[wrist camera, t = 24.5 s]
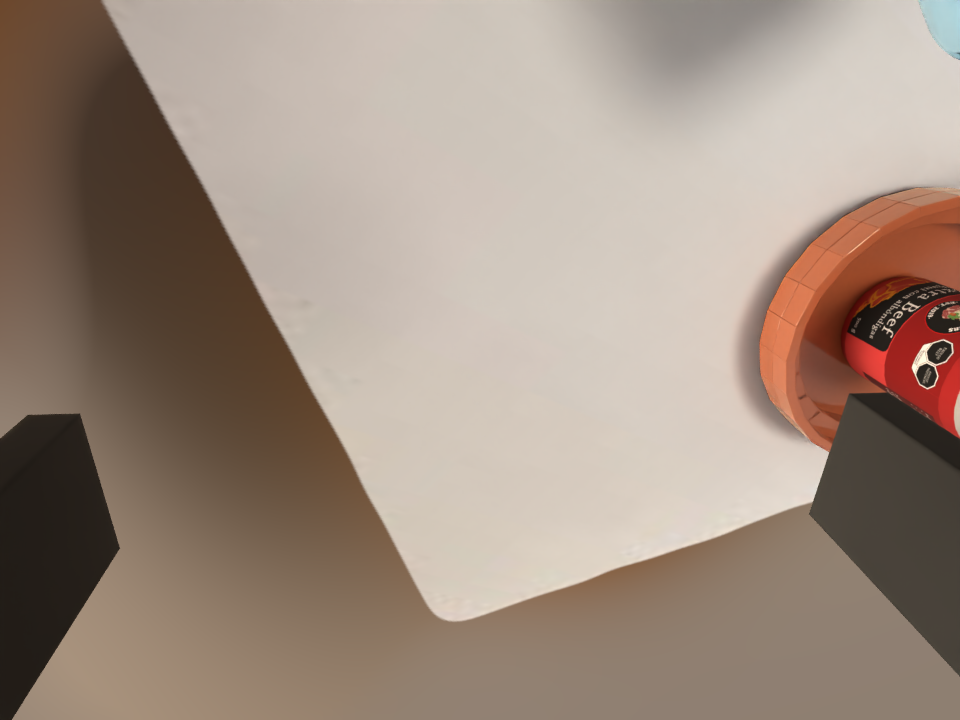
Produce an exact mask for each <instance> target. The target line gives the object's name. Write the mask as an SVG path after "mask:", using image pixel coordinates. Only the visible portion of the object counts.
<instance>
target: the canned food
mask: <svg viewBox="0 0 960 720" xmlns="http://www.w3.org/2000/svg"><path fill="white" fill-rule="evenodd" d="M841 348H842V352H843V355H844V356H845V358H846V360H847V362H848V363H849V365H850V366H851V367H852V368H853V369H854V370H855V371H856V372H857V373H858V374H859V375H861V376H862V377H864V378H866V379H867V380H869V381H870V382H872V383H873V384H875V385H876V386H878V387H879V388H881V389H882V390H884V391H885V392H888V393H889V394H891V395H893V396H894V397H896V398H897V399H899V400H900V401H902V402H903V403H905V404H907V405H908V406H910V407H911V408H913V409H914V410H916V411H917V412H919V413H921V414H922V415H924V416H925V417H927V418H928V419H930V420H931V421H933V422H935V423H936V424H938V425H939V426H941V427H942V428H944V429H945V430H947V431H949V432H950V433H952V434H953V435H955V436H956V437H958V438H959V439H960V291H958V290H955V289H952V288H950V287H947V286H944V285H942V284H939V283H936V282H933V281H931V280H928V279H925V278H920V277H898V278H892V279H889V280H886V281H883V282H882V283H880V284H878V285H876V286H874V287H873V288H871V289H870V290H869V291H867V292H866V293H865V294H864V295H863V296H862V297H861V298H860V299H859V300H858V301H857V302H856V303H855V304H854V306H853V307H852V308H851V310H850V312H849V314H848V315H847V317H846V319H845V322H844V325H843V328H842V333H841Z"/></svg>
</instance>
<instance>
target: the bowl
mask: <svg viewBox="0 0 960 720" xmlns="http://www.w3.org/2000/svg"><path fill="white" fill-rule="evenodd" d="M898 277H920V278H925V279H928V280H931V281H933V282H936V283H939V284H942V285H944V286H947V287H950V288H952V289H955V290H958V291H960V189H955V188H914V189H910V190H906V191H903V192H899V193H895V194H891V195H887V196H884V197H880V198H878V199H876V200H874V201H872V202H870V203H868V204H866V205H864V206H863V207H861V208H859V209H857V210H855V211H853V212H851V213H849V214H847V215H845V216H844V217H842V218H841V219H840V220H839V221H837V222H836V223H835V224H834V225H833V226H831V227H830V228H829V229H828V230H826V231H825V232H824V233H823V234H822V235H820V236H819V237H818V238H817V239H816V240H814V241H813V242H812V243H811V244H810V245H809V246H808V248H807V249H806V250H805V251H804V253H803V254H802V255H801V256H800V257H799V259H798V260H797V261H796V262H795V264H794V265H793V266H792V267H791V269H790V270H789V271H788V272H787V273H786V276H785V277H784V279H783V281H782V282H781V284H780V286H779V288H778V290H777V292H776V294H775V296H774V298H773V300H772V302H771V304H770V306H769V308H768V310H767V314H766V318H765V322H764V326H763V330H762V334H761V338H760V343H759V345H760V374H761V377H762V380H763V382H764V385H765V388H766V391H767V394H768V396H769V399H770V400H771V402H772V403H773V404H774V405H775V406H776V408H777V409H778V410H779V411H780V412H781V414H782V415H783V416H784V417H785V418H786V419H787V420H788V421H789V422H790V423H791V424H792V425H793V426H795V427H796V428H797V429H798V430H799V431H800V432H801V433H802V434H803V435H805V436H806V437H807V438H808V439H809V440H810V441H811V442H813V443H814V444H816V445H818V446H820V447H821V448H823V449H825V450H826V451H828V452H830V449H831V446H832V443H833V440H834V437H835V434H836V431H837V428H838V425H839V422H840V419H841V416H842V413H843V410H844V407H845V404H846V401H847V398H848V395H849V393H883V392H885V391H884V390H882V389H881V388H879V387H878V386H876V385H875V384H873V383H872V382H870V381H869V380H867V379H866V378H864V377H862V376H861V375H859V374H858V373H857V372H856V371H855V370H854V369H853V368H852V367H851V366H850V365H849V363H848V362H847V360H846V358H845V356H844V355H843V352H842V348H841V333H842V328H843V325H844V322H845V319H846V317H847V315H848V314H849V312H850V310H851V308H852V307H853V306H854V304H855V303H856V302H857V301H858V300H859V299H860V298H861V297H862V296H863V295H864V294H865V293H866V292H867V291H869V290H870V289H871V288H873V287H874V286H876V285H878V284H880V283H882V282H883V281H886V280H889V279H892V278H898Z"/></svg>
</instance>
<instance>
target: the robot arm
mask: <svg viewBox="0 0 960 720" xmlns="http://www.w3.org/2000/svg"><path fill="white" fill-rule="evenodd" d="M918 2H919V4H920V7H921V10H922V13H923V15H924V18H925V21H926V23H927V26H928V29H929V31H930V33H931V35H932V37H933V38H934V40H935V41H936V43H937V44H938V45H939V46H940V47H941V48H942V49H943V50H944V51H945V52H946V53H948V54H949V55H951V56H952V57H954V58H956V59H959V60H960V0H918ZM809 514H810V516H811V517H812V518H813V519H814V520H815V521H816V522H817V523H818V524H819V525H820V526H821V527H822V528H823V529H824V531H825V532H826V533H827V534H828V535H829V536H830V537H831V538H832V539H833V540H834V541H835V542H836V543H837V545H838V546H839V547H840V548H841V549H842V550H843V551H844V552H845V553H846V554H847V555H848V556H849V558H850V559H851V560H852V561H853V562H854V563H855V564H856V565H857V566H858V567H859V568H860V569H861V570H862V571H863V573H864V574H865V575H866V576H867V577H868V578H869V579H870V580H871V581H872V582H873V583H874V584H875V585H876V587H877V588H878V589H879V590H880V591H881V592H882V593H883V594H884V595H885V596H886V597H887V598H888V600H890V602H891V603H892V604H893V605H894V606H895V607H896V608H897V609H898V610H899V611H900V612H901V614H902V615H903V616H904V617H905V618H906V619H907V620H908V621H909V622H910V623H911V624H912V625H913V626H914V628H915V629H916V630H917V631H918V632H919V633H920V634H921V635H922V636H923V637H924V638H925V639H926V640H927V642H928V643H929V644H930V645H931V646H932V647H933V648H934V649H935V650H936V651H937V652H938V653H939V654H940V656H941V657H942V658H943V659H944V660H945V661H946V662H947V663H948V664H949V665H950V666H951V667H952V668H953V670H954V671H955V672H956V673H957V674H958V675H959V676H960V439H959V438H958V437H956V436H955V435H953V434H952V433H950V432H949V431H947V430H945V429H944V428H942V427H941V426H939V425H938V424H936V423H935V422H933V421H931V420H930V419H928V418H927V417H925V416H924V415H922V414H921V413H919V412H917V411H916V410H914V409H913V408H911V407H910V406H908V405H907V404H905V403H903V402H902V401H900V400H899V399H897V398H896V397H894V396H893V395H891V394H889V393H888V392H883V393H849V395H848V398H847V401H846V404H845V407H844V410H843V413H842V416H841V419H840V422H839V425H838V428H837V431H836V434H835V437H834V440H833V443H832V446H831V449H830V452H829V455H828V458H827V462H826V465H825V468H824V471H823V474H822V477H821V480H820V483H819V486H818V489H817V492H816V495H815V498H814V501H813V504H812V507H811V510H810V513H809ZM119 549H120V547H119V544H118V541H117V537H116V534H115V530H114V527H113V524H112V521H111V517H110V514H109V510H108V507H107V503H106V500H105V497H104V493H103V490H102V487H101V483H100V480H99V477H98V473H97V470H96V466H95V463H94V460H93V456H92V453H91V449H90V446H89V443H88V440H87V436H86V433H85V429H84V426H83V423H82V419H81V416H80V414H51V415H50V414H49V415H27V416H26V417H25V418H24V419H23V420H21V421H20V422H19V423H18V424H17V425H16V426H14V427H13V428H12V429H11V430H10V431H9V432H7V433H6V434H5V435H4V436H3V437H2V438H0V720H12V718H13V717H14V715H15V714H16V712H17V711H18V709H19V707H20V706H21V704H22V703H23V701H24V699H25V698H26V696H27V695H28V693H29V691H30V690H31V688H32V687H33V685H34V684H35V682H36V680H37V679H38V677H39V676H40V673H41V672H42V671H43V669H44V668H45V666H46V665H47V663H48V661H49V660H50V658H51V657H52V655H53V653H54V652H55V650H56V649H57V647H58V646H59V644H60V642H61V641H62V639H63V638H64V636H65V634H66V633H67V631H68V630H69V628H70V627H71V625H72V623H73V622H74V620H75V619H76V617H77V615H78V614H79V612H80V611H81V609H82V608H83V606H84V604H85V603H86V601H87V600H88V598H89V596H90V595H91V593H92V591H93V590H94V588H95V587H96V585H97V584H98V582H99V581H100V579H101V577H102V576H103V574H104V573H105V571H106V569H107V568H108V566H109V565H110V563H111V561H112V560H113V558H114V557H115V555H116V554H117V552H118V550H119Z"/></svg>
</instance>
